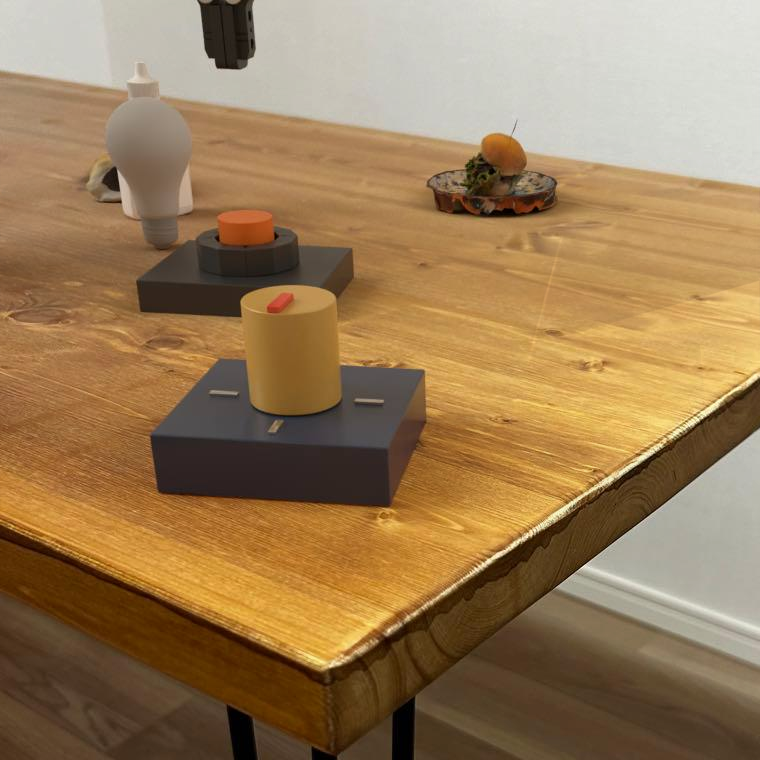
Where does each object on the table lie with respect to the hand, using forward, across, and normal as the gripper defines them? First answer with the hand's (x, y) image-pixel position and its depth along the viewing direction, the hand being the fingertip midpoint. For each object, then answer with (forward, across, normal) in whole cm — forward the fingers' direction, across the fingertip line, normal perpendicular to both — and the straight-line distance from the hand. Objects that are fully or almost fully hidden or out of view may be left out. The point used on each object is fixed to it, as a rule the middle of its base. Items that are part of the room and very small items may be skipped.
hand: (231, 67), depth 75 cm
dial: (+12, -10, +25) cm, 29 cm away
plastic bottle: (+15, +14, -20) cm, 28 cm away
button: (+11, 0, 0) cm, 11 cm away
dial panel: (+15, -10, +25) cm, 31 cm away
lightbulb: (+15, +10, -10) cm, 20 cm away
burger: (+15, -13, -30) cm, 36 cm away
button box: (+15, 0, 0) cm, 15 cm away
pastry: (+15, +19, -27) cm, 36 cm away
